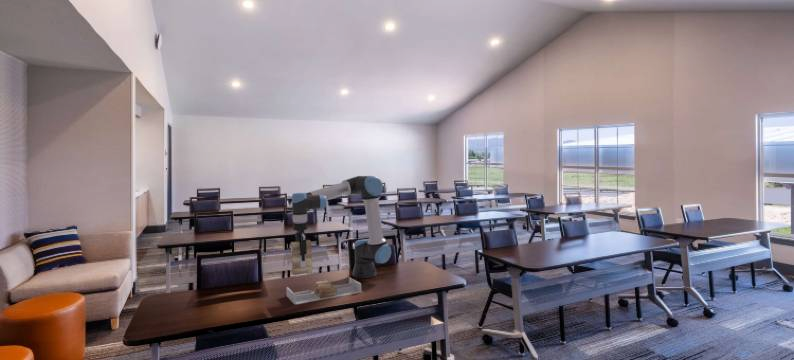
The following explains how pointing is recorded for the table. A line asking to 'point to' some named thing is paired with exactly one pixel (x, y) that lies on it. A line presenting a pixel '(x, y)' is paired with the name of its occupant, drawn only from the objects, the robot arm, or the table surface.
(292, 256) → the tan wooden block
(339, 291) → the rack
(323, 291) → the offcut middle
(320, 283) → the offcut top
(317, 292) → the offcut bottom
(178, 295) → the table surface
